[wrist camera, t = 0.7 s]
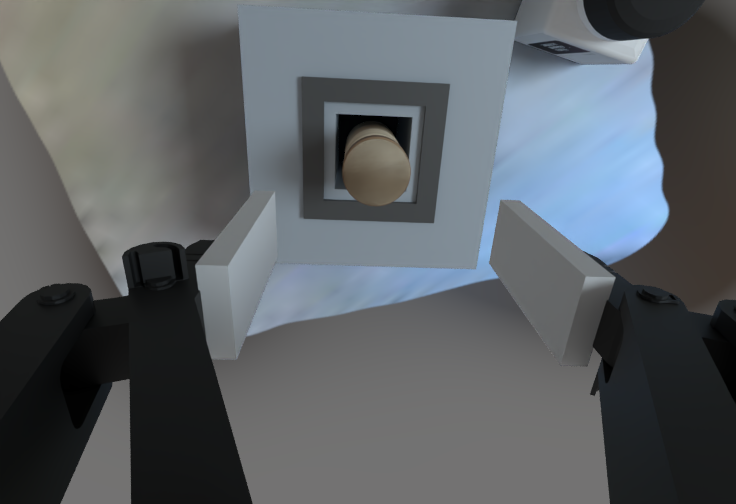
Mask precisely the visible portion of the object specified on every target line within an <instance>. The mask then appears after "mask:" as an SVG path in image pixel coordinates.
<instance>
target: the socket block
mask: <svg viewBox="0 0 736 504" xmlns="http://www.w3.org/2000/svg"><path fill="white" fill-rule="evenodd" d="M237 6H238V21H239V36H240V51H241V66H242V81H243V96H244V111H245V126H246V141H247V156H248V171H249V186H250V196H251V195H252V193H253V192H254V191H255V190H257V191H275V203H276V228H277V252H278V257H277V260H276V262H275V263H278V264H312V265H347V266H381V267H416V268H451V269H476V266H477V260H478V254H479V248H480V242H481V236H482V230H483V224H484V218H485V212H486V206H487V200H488V194H489V188H490V182H491V176H492V170H493V164H494V158H495V152H496V146H497V140H498V134H499V128H500V122H501V116H502V110H503V104H504V98H505V92H506V86H507V80H508V74H509V68H510V62H511V56H512V50H513V44H514V38H515V32H516V26H517V21H512V20H495V19H477V18H460V17H443V16H426V15H408V14H391V13H374V12H356V11H339V10H322V9H305V8H287V7H270V6H253V5H237ZM340 114H353V115H375V116H396V117H398V122H397V135H396V140H397V142H398V143H399V145H400V146H401V147H402V149H403V150H404V152H405V153H406V155H407V157H408V159H409V162H410V167H411V176H410V181H409V184H408V186H407V188H406V190H405V192H404V193H403V194H402V195H401V196H400V197H399V198H398V199H397V200H395V201H393V202H392V203H389V204H387V205H383V206H369V205H365V204H362V203H360V202H359V201H357V200H356V199H354V198H353V197H352V196H351V195H350V194H349V192H348V191H347V189H346V187H345V185H344V182H343V177H342V168H343V162H339V127H340Z"/></svg>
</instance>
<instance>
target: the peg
mask: <svg viewBox="0 0 736 504" xmlns="http://www.w3.org/2000/svg"><path fill="white" fill-rule="evenodd" d="M410 176H411V167H410V162H409V159H408V157H407V155H406V153H405V152H404V150H403V149H402V147H401V146H400V145H399V143H398V142H397V140H396V138H395V137H394V135H393V133H392V132H391V130H390V129H389V128H388V127H387V126H385V125H384V124H382V123H380V122H376V121H366V122H362V123H360V124H358V125H357V126H355V127H354V128H353V129H352V130H351V132H350V133H349V135H348V137H347V140H346V146H345V157H344V161H343V168H342V177H343V182H344V185H345V187H346V189H347V191H348V192H349V194H350V195H351V196H352V197H353V198H354V199H356V200H357V201H359V202H360V203H362V204H365V205H369V206H383V205H387V204H389V203H392V202H393V201H395V200H397V199H398V198H399V197H400V196H401V195H402V194H403V193H404V192H405V190H406V188H407V186H408V184H409V181H410Z"/></svg>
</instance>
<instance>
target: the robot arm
mask: <svg viewBox="0 0 736 504" xmlns="http://www.w3.org/2000/svg"><path fill="white" fill-rule="evenodd" d="M277 257H278V252H277V228H276V203H275V191H257V190H255V191H254V192H253V193H252V195H251V196H250V197H249V198H248V200H247V201H246V202H245V203H244V205H243V206H242V207H241V208H240V210H239V211H238V212H237V213H236V215H235V216H234V217H233V218H232V220H231V221H230V222H229V223H228V225H227V226H226V227H225V228H224V230H223V231H222V232H221V233H220V235H219V236H218V237H217V238H216V240H200V241H198V242H196V243H194V244H192V245H190V246H188V247H187V248H186V249H185V248H184V247H183V246H182V245H180V244H177V243H173V242H152V243H147V244H142V245H139V246H136V247H133V248H131V249H129V250H127V251H126V252H124V254H123V256H122V259H123V264H124V269H125V274H126V279H127V284H128V290H129V295H128V296H123V297H118V298H110V299H103V300H94V301H93V297H92V293H91V289H90V288H89V287H88V286H86V285H83V284H78V283H77V284H76V283H74V284H73V283H67V284H53V285H51V286H45V287H42V288H41V289H40V290H37V291H35V292H32V293H30V294H29V295H27V296H26V297H24V298H23V299H22V300H21V301H20V302H19V303H18V304H17V305H16V306H15V307H14V308H13V309H12V310H11V311H10V312H9V313H8V314H7V315H6V316H5V317H4V318H3V319H2V320H1V321H0V504H60V503H61V501H62V499H63V497H64V494H65V492H66V490H67V487H68V485H69V483H70V481H71V478H72V476H73V474H74V472H75V469H76V467H77V465H78V462H79V460H80V458H81V455H82V453H83V451H84V449H85V447H86V444H87V442H88V440H89V437H90V435H91V433H92V431H93V428H94V426H95V424H96V421H97V419H98V417H99V415H100V412H101V410H102V408H103V405H104V403H105V401H106V399H107V396H108V394H109V392H110V390H111V387H112V382H115V381H121V380H126V379H130V439H131V440H130V442H131V444H130V445H131V504H252V500H251V497H250V493H249V489H248V486H247V482H246V479H245V475H244V472H243V469H242V465H241V461H240V458H239V454H238V451H237V447H236V444H235V440H234V437H233V433H232V429H231V426H230V422H229V419H228V416H227V412H226V408H225V405H224V401H223V398H222V395H221V391H220V387H219V384H218V380H217V377H216V373H215V369H214V366H213V363H212V359H227V360H236V359H237V357H238V355H239V352H240V350H241V347H242V345H243V342H244V340H245V337H246V335H247V332H248V330H249V327H250V325H251V322H252V320H253V317H254V315H255V312H256V310H257V307H258V305H259V302H260V300H261V297H262V295H263V292H264V290H265V287H266V285H267V282H268V280H269V277H270V275H271V272H272V270H273V267H274V265H275V262H276V260H277ZM489 264H490V265H491V267H492V268H493V270H494V271H495V272H496V274H497V275H498V277H499V278H500V280H501V281H502V282H503V284H504V285H505V287H506V288H507V290H508V291H509V292H510V294H511V295H512V297H513V298H514V300H515V301H516V303H517V304H518V306H519V307H520V308H521V310H522V311H523V313H524V314H525V315H526V317H527V319H528V320H529V321H530V323H531V324H532V326H533V327H534V329H535V330H536V332H537V333H538V334H539V336H540V337H541V339H542V340H543V342H544V343H545V344H546V346H547V347H548V349H549V350H550V352H551V353H552V355H553V356H554V358H555V359H556V360H557V362H558V363H559V365H560V366H588V363H589V360H590V356H591V353H592V350H593V347H594V348H595V350H596V351H597V352H598V353H599V354H600V355H601V357H602V360H601V363H600V366H599V369H598V372H597V375H596V378H595V381H594V384H593V387H592V390H591V393H590V394H591V395H595V394H596V391H598V390H599V392H600V402H601V413H602V424H603V434H604V445H605V456H606V466H607V477H608V487H609V498H610V504H736V300H722V301H719V303H718V305H717V308H716V310H715V312H714V315H713V316H711V315H706V314H700V313H694V312H689V311H688V310H687V308H686V306H685V305H684V303H683V302H682V301H681V299H680V298H678V297H677V296H675V295H673V294H671V293H669V292H666V291H664V290H662V289H660V288H656V287H651V286H644V285H632V284H631V283H629V282H628V281H627V280H625V279H624V278H623V277H621V276H620V275H619V274H618V273H615V271H614V270H613V269H611V268H610V267H607V265H606V264H605V263H604V262H602V261H601V260H600V259H598V258H597V257H595V256H593V255H590V254H588V253H586V252H584V251H582V250H581V249H580V248H578V247H577V246H576V245H575V244H573V243H572V242H571V241H570V240H568V239H567V238H566V237H565V236H563V235H562V234H561V233H560V232H558V231H557V230H556V229H555V228H553V227H552V226H551V225H550V224H548V223H547V222H546V221H545V220H543V219H542V218H541V217H540V216H538V215H537V214H536V213H535V212H533V211H532V210H531V209H530V208H528V207H527V206H526V205H525V204H523V203H522V202H521V201H517V200H501V201H500V206H499V212H498V217H497V223H496V228H495V234H494V239H493V245H492V250H491V256H490V261H489Z"/></svg>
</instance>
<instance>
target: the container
mask: <svg viewBox="0 0 736 504" xmlns="http://www.w3.org/2000/svg"><path fill="white" fill-rule="evenodd" d="M704 1H705V0H522V2H521V5H520V7H519V10H518V13H517V15H516V18H515V20H514V21H517V26H516V32H515V38H514V41H516V42H519V43H522V44H525V45H528V46H531V47H534V48H537V49H539V50H542V51H545V52H548V53H551V54H554V55H557V56H559V57H562V58H565V59H568V60H571V61H574V62H577V63H580V64H582V65H597V64H633V63H635V62H636V61H637V60H638V58H639V56H640V54H641V52H642V50H643V48H644V46H645V44H646V42H647V40H648V38H655V37H660V36H663V35H666V34H668V33H670V32H672V31H674V30H676V29H677V28H679V27H680V26H682V25H683V24H684V23H686V22H687V21H688V20H689V19H690V18H691V17H692V16H693V15H694V14H695V13H696V12H697V11H698V9H699V8H700V7H701V5H702V4H703V2H704Z"/></svg>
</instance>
